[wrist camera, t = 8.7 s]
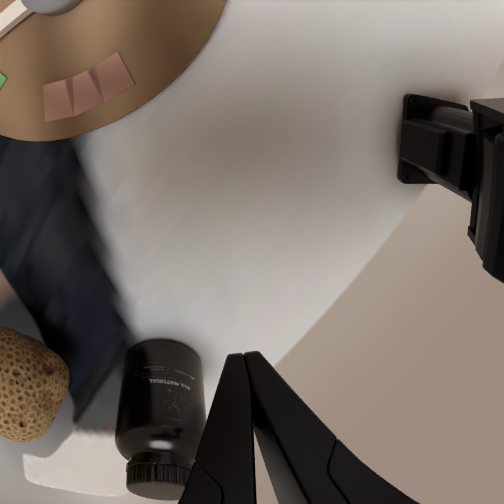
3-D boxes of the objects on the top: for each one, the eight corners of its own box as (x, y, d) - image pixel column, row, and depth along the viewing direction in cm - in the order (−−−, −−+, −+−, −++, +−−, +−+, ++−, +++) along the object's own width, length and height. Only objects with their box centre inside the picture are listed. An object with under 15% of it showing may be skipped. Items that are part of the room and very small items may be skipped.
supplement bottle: (185, 328, 24) (194, 472, 14) (211, 378, 27) (228, 498, 17) (110, 346, 24) (91, 478, 13) (144, 392, 27) (143, 506, 17)
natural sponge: (-25, 317, 20) (-67, 398, 11) (23, 281, 19) (-30, 380, 11) (36, 379, 25) (14, 461, 16) (93, 357, 24) (74, 457, 15)
